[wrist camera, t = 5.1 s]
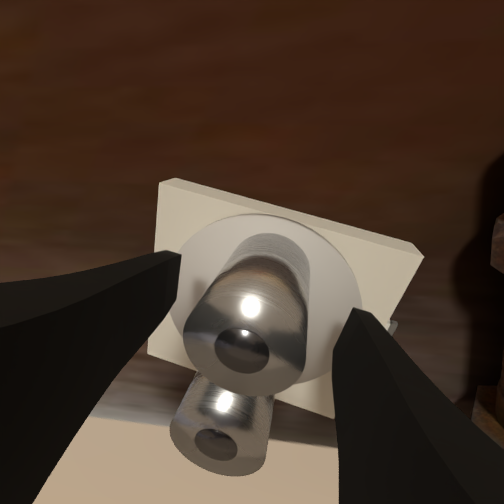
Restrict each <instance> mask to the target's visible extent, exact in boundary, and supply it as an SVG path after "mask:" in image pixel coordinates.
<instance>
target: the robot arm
mask: <svg viewBox="0 0 504 504" xmlns="http://www.w3.org/2000/svg"><path fill="white" fill-rule="evenodd" d="M181 257H182V254H178V253H175V252H172V251H169V250H163V251H158V252H154V253H151V254H147V255H143V256H140V257H136V258H133V259H129V260H125V261H122V262H118V263H115V264H110V265H106V266H102V267H98V268H94V269H90V270H85V271H81V272H76V273H71V274H65V275H59V276H53V277H47V278H40V279H33V280H23V281H14V282H5V283H0V504H32V503H33V502H34V500H35V499H36V497H37V495H38V494H39V492H40V490H41V488H42V487H43V485H44V484H45V482H46V480H47V478H48V477H49V476H50V474H51V472H52V471H53V469H54V468H55V466H56V465H57V463H58V461H59V460H60V458H61V457H62V455H63V454H64V452H65V450H66V449H67V447H68V446H69V444H70V442H71V441H72V439H73V438H74V436H75V435H76V433H77V432H78V431H79V429H80V428H81V426H82V425H83V423H84V421H85V420H86V419H87V417H88V416H89V414H90V413H91V411H92V410H93V408H94V407H95V405H96V404H97V402H98V401H99V400H100V398H101V397H102V395H103V394H104V392H105V391H106V390H107V388H108V387H109V385H110V384H111V382H112V381H113V380H114V378H115V377H116V376H117V375H118V373H119V372H120V371H121V369H122V368H123V367H124V366H125V365H126V364H127V362H128V361H129V360H130V359H131V358H132V357H133V355H134V354H135V353H136V352H137V351H138V350H139V348H140V347H141V346H142V345H143V344H144V343H145V341H146V340H147V339H148V338H149V337H150V335H151V334H152V333H153V332H154V331H155V330H156V328H157V327H158V326H159V325H160V324H161V322H162V321H163V320H164V318H165V317H166V315H167V314H168V312H169V311H170V309H171V307H172V306H173V304H174V303H175V301H176V299H177V291H178V283H179V274H180V266H181ZM332 388H333V400H334V410H335V421H336V431H337V442H338V457H339V504H504V449H503V448H502V447H500V446H499V445H498V444H497V443H496V442H494V441H493V440H492V439H491V438H490V437H489V436H488V435H487V434H485V433H484V432H483V431H482V430H481V429H480V428H479V427H478V426H476V425H475V424H474V423H473V422H472V421H471V420H470V419H469V418H468V417H467V416H466V415H465V414H464V413H463V412H462V411H461V410H460V409H458V408H457V407H456V406H455V405H454V404H453V403H452V402H451V401H450V400H449V399H448V398H447V397H446V396H445V395H444V394H443V393H442V392H441V391H440V390H439V389H438V388H437V387H436V386H435V384H434V383H433V382H432V381H431V380H430V379H429V378H428V377H427V376H426V375H425V374H424V373H423V372H422V371H421V370H420V368H419V367H418V366H417V365H416V364H415V363H414V362H413V361H412V359H411V358H410V357H409V356H408V355H407V354H406V353H405V351H404V350H403V349H402V348H401V347H400V345H399V344H398V343H397V342H396V341H395V340H394V338H393V337H392V336H391V335H390V334H389V332H388V331H387V330H386V329H385V328H384V326H383V325H382V324H381V323H380V322H379V321H378V319H377V318H376V317H375V316H374V315H373V314H372V313H371V312H368V311H365V310H361V309H358V308H355V307H353V308H352V310H351V312H350V315H349V317H348V319H347V321H346V323H345V325H344V327H343V329H342V332H341V334H340V336H339V338H338V340H337V342H336V344H335V346H334V348H333V354H332Z"/></svg>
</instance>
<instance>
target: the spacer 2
mask: <svg viewBox="0 0 504 504" xmlns="http://www.w3.org/2000/svg"><path fill="white" fill-rule="evenodd" d="M274 400H275V394H274V395H269V396H245V395H240V394H236V393H233V392H230V391H227V390H225V389H223V388H221V387H219V386H217V385H215V384H214V383H212V382H210V381H209V380H208V379H207V378H205V377H204V376H203V375H202V374H201V373H200V372H199V371H198V370H197V372H196V374H195V376H194V378H193V380H192V382H191V384H190V386H189V388H188V390H187V392H186V394H185V396H184V398H183V400H182V402H181V403H180V405H179V407H178V409H177V411H176V413H175V415H174V417H173V419H172V421H171V424H170V436H171V439H172V441H173V442H174V445H175V446H176V448H177V449H178V450H179V451H180V452H181V453H182V454H183V455H184V456H185V457H186V458H187V459H188V460H190V461H191V462H193V463H194V464H196V465H198V466H199V467H201V468H203V469H206V470H208V471H210V472H214V473H217V474H221V475H226V476H244V475H249V474H252V473H254V472H256V471H257V470H259V469H260V468H261V467H262V465H263V464H264V461H265V457H266V451H267V445H268V439H269V432H270V426H271V420H272V413H273V407H274Z"/></svg>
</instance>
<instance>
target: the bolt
mask: <svg viewBox="0 0 504 504" xmlns="http://www.w3.org/2000/svg"><path fill="white" fill-rule="evenodd" d="M490 265H491V266H493V267H494V268H495V269H497V270H498V271H500V272H501V273H503V274H504V213H503V214H502V215H500V216H499V217H497V218H496V221H495V225H494V230H493V236H492V248H491V262H490ZM502 358H503V360H502V370H501V378H500V379H499V381H498V385H497V386H477V391H476V396H475V401H474V406H473V411H472V416H471V421H472V422H473V423H474V424H475V425H476V426H478V427H479V428H480V429H481V430H482V431H483V432H484V433H485V434H487V435H488V436H489V437H490V438H491V439H492V440H493V441H494V442H496V443H497V444H498V445H499V446H500V447H502V448H503V449H504V349H503V357H502Z"/></svg>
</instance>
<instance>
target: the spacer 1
mask: <svg viewBox="0 0 504 504" xmlns="http://www.w3.org/2000/svg"><path fill="white" fill-rule="evenodd" d="M309 289H310V265H309V261H308V259H307V256H306V254H305V253H304V251H303V250H302V249H301V248H300V247H299V246H298V245H297V244H296V243H295V242H294V241H292V240H291V239H289V238H287V237H285V236H282V235H279V234H275V233H260V234H256V235H253V236H250V237H248V238H247V239H245V240H244V241H242V242H241V243H240V244H239V245H238V246H237V248H236V249H235V251H234V252H233V253H232V255H231V256H230V258H229V259H228V261H227V262H226V263H225V265H224V266H223V268H222V269H221V271H220V272H219V273H218V275H217V276H216V278H215V279H214V281H213V282H212V283H211V285H210V286H209V288H208V289H207V291H206V292H205V293H204V295H203V296H202V298H201V299H200V301H199V302H198V303H197V305H196V306H195V308H194V309H193V311H192V312H191V313H190V315H189V316H188V318H187V320H186V322H185V325H184V329H183V343H184V347H185V350H186V353H187V355H188V357H189V359H190V361H191V362H192V364H193V365H194V367H195V368H196V369H197V370H198V371H199V372H200V373H201V374H202V375H203V376H204V377H205V378H207V379H208V380H209V381H210V382H212V383H214V384H215V385H217V386H219V387H221V388H223V389H225V390H227V391H230V392H233V393H236V394H240V395H245V396H269V395H274V394H277V393H280V392H282V391H284V390H286V389H288V388H289V387H291V386H292V385H293V384H294V383H295V382H296V381H297V380H298V379H299V378H300V376H301V374H302V373H303V370H304V367H305V363H306V350H307V330H308V309H309Z"/></svg>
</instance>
